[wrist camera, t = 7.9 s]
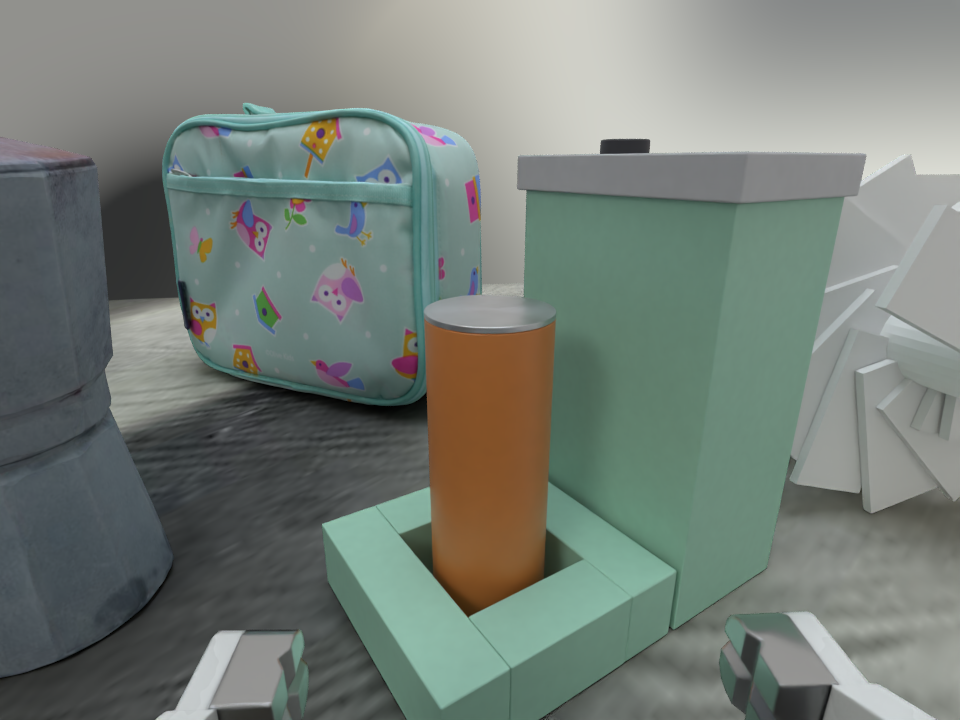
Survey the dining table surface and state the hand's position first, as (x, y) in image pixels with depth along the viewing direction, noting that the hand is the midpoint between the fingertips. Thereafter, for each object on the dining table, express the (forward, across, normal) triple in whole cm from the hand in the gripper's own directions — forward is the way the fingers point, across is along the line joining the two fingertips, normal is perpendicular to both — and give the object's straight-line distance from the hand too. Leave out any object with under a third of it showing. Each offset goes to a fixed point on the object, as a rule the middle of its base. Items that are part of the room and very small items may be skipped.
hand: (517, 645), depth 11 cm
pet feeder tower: (+14, -7, +8) cm, 18 cm away
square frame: (+10, 0, +8) cm, 13 cm away
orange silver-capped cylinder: (+10, 0, +8) cm, 13 cm away
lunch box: (+36, +12, +9) cm, 39 cm away
